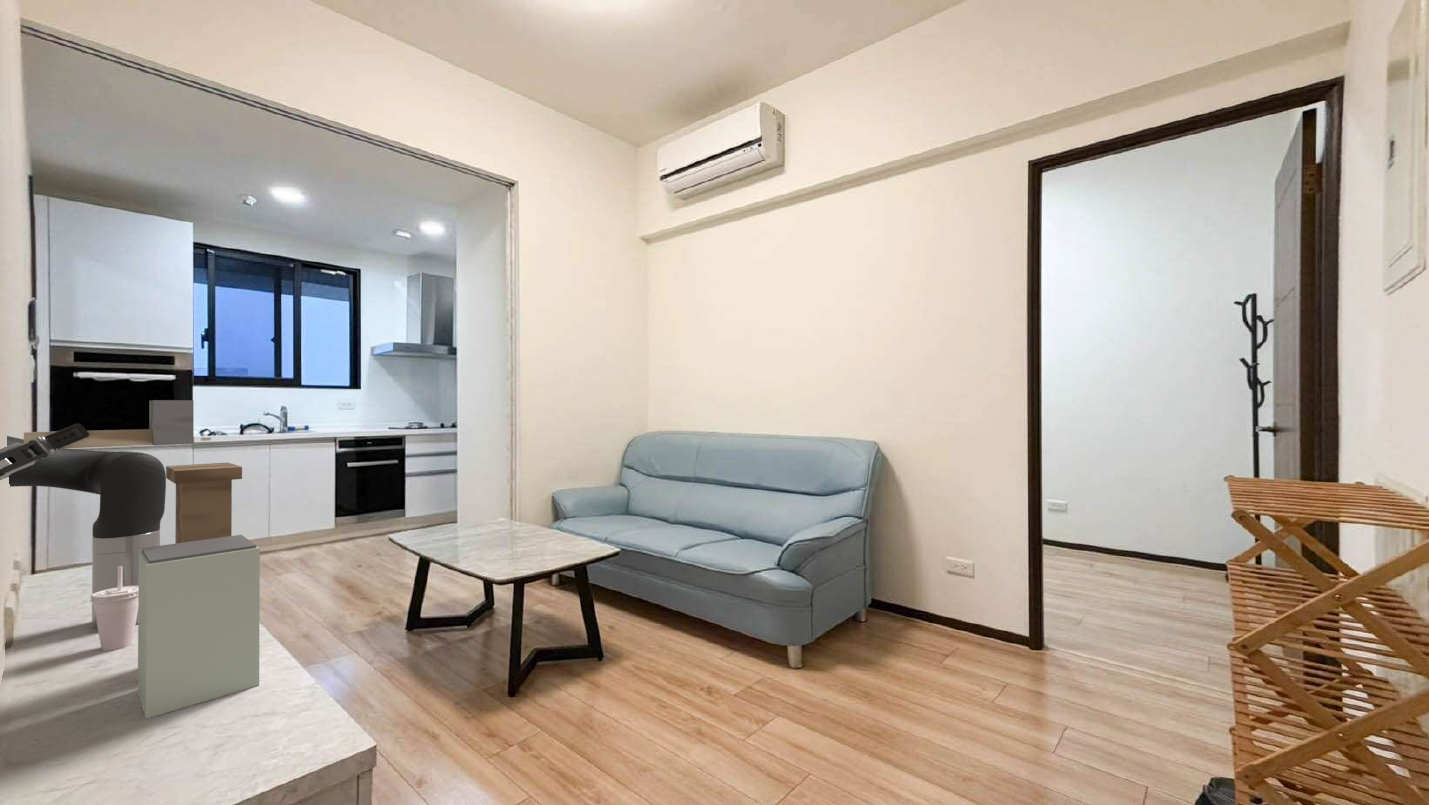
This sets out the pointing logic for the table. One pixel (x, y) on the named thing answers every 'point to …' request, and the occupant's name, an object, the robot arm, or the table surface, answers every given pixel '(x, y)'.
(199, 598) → the sage cabinet
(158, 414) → the hammer
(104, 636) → the smoothie
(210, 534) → the wooden t-shaped stand
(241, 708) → the table surface
